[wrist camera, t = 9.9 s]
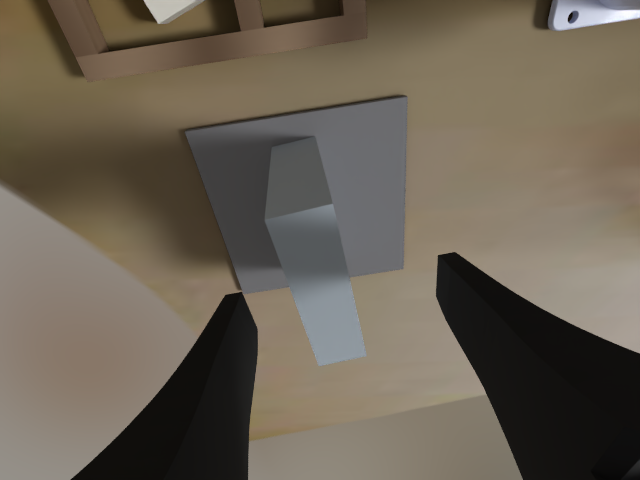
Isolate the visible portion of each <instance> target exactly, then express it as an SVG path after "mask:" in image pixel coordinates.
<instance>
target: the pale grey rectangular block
mask: <svg viewBox="0 0 640 480" xmlns="http://www.w3.org/2000/svg"><path fill="white" fill-rule="evenodd" d="M265 223H266V225H267V228H268V231H269V234H270V236H271V239H272V242H273V244H274V247H275V250H276V252H277V255H278V258H279V260H280V263H281V266H282V268H283V271H284V274H285V276H286V279H287V282H288V285H289V287H290V290H291V293H292V295H293V298H294V301H295V303H296V306H297V309H298V311H299V314H300V317H301V319H302V322H303V325H304V327H305V330H306V333H307V336H308V338H309V341H310V344H311V346H312V349H313V352H314V354H315V357H316V360H317V362H318V365H319V366H322V365H327V364H331V363H336V362H341V361H345V360H350V359H355V358H359V357H364V356H367V355H366V350H365V346H364V341H363V337H362V332H361V328H360V323H359V319H358V314H357V310H356V305H355V301H354V296H353V292H352V287H351V283H350V278H349V274H348V269H347V265H346V260H345V256H344V251H343V247H342V242H341V238H340V233H339V229H338V224H337V220H336V215H335V211H334V206H333V202H332V198H331V194H330V191H329V187H328V183H327V179H326V175H325V171H324V168H323V164H322V160H321V156H320V152H319V149H318V145H317V141H316V137H315V136H314V137H310V138H306V139H302V140H298V141H294V142H290V143H286V144H282V145H278V146H274V147H272V150H271V160H270V170H269V180H268V190H267V200H266V210H265Z"/></svg>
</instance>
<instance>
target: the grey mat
mask: <svg viewBox="0 0 640 480" xmlns="http://www.w3.org/2000/svg"><path fill="white" fill-rule="evenodd" d="M185 134H186V137H187V140H188V142H189V145H190V148H191V151H192V153H193V156H194V159H195V162H196V164H197V167H198V170H199V173H200V176H201V178H202V181H203V184H204V187H205V189H206V192H207V195H208V198H209V200H210V203H211V206H212V209H213V211H214V214H215V217H216V220H217V222H218V225H219V228H220V231H221V233H222V236H223V239H224V242H225V244H226V247H227V250H228V253H229V255H230V258H231V261H232V264H233V267H234V269H235V272H236V275H237V278H238V280H239V283H240V286H241V289H242V291H243V294H248V293H254V292H261V291H267V290H273V289H280V288H286V287H289V285H288V282H287V279H286V276H285V274H284V271H283V268H282V266H281V263H280V260H279V258H278V255H277V252H276V250H275V247H274V244H273V242H272V239H271V236H270V234H269V231H268V228H267V225H266V223H265V210H266V200H267V190H268V180H269V170H270V160H271V150H272V147H274V146H278V145H282V144H286V143H290V142H294V141H298V140H302V139H306V138H310V137H314V136H315V137H316V141H317V145H318V149H319V152H320V156H321V160H322V164H323V168H324V171H325V175H326V179H327V183H328V187H329V191H330V194H331V198H332V202H333V206H334V211H335V215H336V220H337V224H338V229H339V233H340V238H341V242H342V247H343V251H344V256H345V260H346V265H347V269H348V274H349V277H355V276H362V275H368V274H374V273H381V272H387V271H393V270H400V269H403V265H404V223H405V181H406V138H407V96H405V95H404V96H398V97H392V98H385V99H379V100H373V101H366V102H360V103H353V104H347V105H341V106H334V107H328V108H322V109H315V110H309V111H303V112H296V113H290V114H283V115H277V116H271V117H264V118H258V119H252V120H245V121H239V122H233V123H226V124H220V125H214V126H207V127H201V128H194V129H188V130H186V131H185Z"/></svg>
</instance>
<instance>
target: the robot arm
mask: <svg viewBox="0 0 640 480" xmlns="http://www.w3.org/2000/svg"><path fill="white" fill-rule="evenodd" d="M571 12H572V13H573V17H572V19H571V20H570V21H569V22H568V16H569V14H570V13H571ZM638 18H640V0H552V5H551V9H550V14H549V18H548V27H549V29H551V30H554V31H561V30H568V29H574V28H580V27H587V26H593V25H600V24H606V23H612V22H619V21H625V20H631V19H638ZM436 297H437V300H438V302H439V305H440V307H441V310H442V312H443V314H444V317H445V319H446V321H447V323H448V325H449V327H450V328H451V330H452V332H453V334H454V335H455V337H456V339H457V341H458V342H459V344H460V346H461V348H462V349H463V351H464V353H465V355H466V356H467V358H468V360H469V362H470V363H471V365H472V367H473V369H474V370H475V372H476V374H477V376H478V378H479V379H480V381H481V383H482V385H483V387H484V389H485V391H486V394H487V396H488V398H489V400H490V402H491V404H492V407H493V409H494V411H495V414H496V416H497V418H498V420H499V423H500V425H501V427H502V430H503V432H504V434H505V437H506V439H507V441H508V444H509V446H510V449H511V451H512V453H513V456H514V458H515V461H516V463H517V466H518V468H519V470H520V473H521V476H522V478H523V480H640V354H639V353H637V352H634V351H632V350H629V349H627V348H624V347H622V346H619V345H617V344H614V343H612V342H610V341H607V340H605V339H603V338H601V337H598V336H596V335H594V334H592V333H589V332H587V331H585V330H583V329H581V328H578V327H576V326H574V325H572V324H570V323H568V322H566V321H564V320H562V319H560V318H558V317H556V316H555V315H553V314H551V313H549V312H547V311H545V310H543V309H541V308H540V307H538V306H536V305H534V304H533V303H531V302H529V301H528V300H526V299H524V298H522V297H521V296H519V295H517V294H516V293H514V292H513V291H511V290H509V289H508V288H506V287H505V286H503V285H502V284H500V283H499V282H497V281H496V280H494V279H493V278H491V277H490V276H488V275H487V274H485V273H484V272H483V271H481V270H480V269H478V268H477V267H475V266H474V265H473V264H471V263H470V262H468V261H467V260H466V259H464V258H463V257H461V256H460V255H459V254H457V253H456V252H453V253H447V254H442V255H438V266H437V286H436ZM257 355H258V331H257V326H256V324H255V322H254V319H253V317H252V315H251V312H250V310H249V308H248V305H247V303H246V301H245V298H244V296H243V294H242V292H239V293H234V294H228V295H225V297H224V298H223V300H222V301H221V303H220V304H219V306H218V308H217V309H216V311H215V313H214V314H213V316H212V317H211V319H210V321H209V322H208V324H207V326H206V327H205V329H204V330H203V332H202V333H201V335H200V336H199V338H198V339H197V341H196V343H195V344H194V346H193V347H192V349H191V350H190V351H189V353H188V354H187V356H186V357H185V358H184V360H183V361H182V363H181V364H180V366H179V367H178V368H177V370H176V371H175V372H174V373H173V375H172V376H171V377H170V379H169V380H168V381H167V382H166V384H165V385H164V386H163V388H162V389H161V390H160V391H159V392H158V394H157V395H156V396H155V397H154V398H153V399H152V400H151V402H150V403H149V404H148V405H147V406H146V407H145V408H144V409H143V410H142V411H141V412H140V413H139V415H138V416H137V417H136V418H135V419H134V420H133V421H132V422H131V423H130V424H129V425H128V426H127V427H126V428H125V429H124V431H122V432H121V434H120V435H119V436H118V437H116V439H114V440H113V441H112V442H111V443H110V444H109V445H108V446H107V447H106V448H105V449H104V450H103V451H102V452H101V453H100V454H99V455H98V456H97V457H95V458H94V459H93V460H92V461H91V462H90V463H89V464H88V465H87V466H86V467H85V468H83V469H82V470H81V471H80V472H79V473H78V474H77V475H76V476H74V477H73V478H72V479H71V480H248V447H249V424H250V413H251V405H252V397H253V389H254V381H255V373H256V364H257Z"/></svg>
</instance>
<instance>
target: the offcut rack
mask: <svg viewBox="0 0 640 480" xmlns="http://www.w3.org/2000/svg"><path fill="white" fill-rule="evenodd" d="M48 2H49V4H50V6H51V8H52V10H53V13H54V15H55V17H56V19H57V21H58V23H59V25H60V27H61V29H62V31H63V33H64V35H65V37H66V39H67V41H68V43H69V45H70V47H71V49H72V51H73V53H74V55H75V57H76V60H77V62H78V64H79V66H80V68H81V70H82V72H83V74H84V76H85V78H86V80H87V82H92V81H98V80H104V79H111V78H117V77H123V76H130V75H136V74H143V73H149V72H155V71H162V70H168V69H174V68H181V67H187V66H194V65H200V64H206V63H213V62H219V61H225V60H232V59H238V58H245V57H251V56H257V55H264V54H270V53H276V52H283V51H289V50H296V49H302V48H308V47H315V46H321V45H327V44H334V43H340V42H347V41H353V40H359V39H366V38H367V18H366V0H339V8H340V16H335V17H328V18H322V19H315V20H309V21H303V22H296V23H290V24H284V25H277V26H271V27H265V26H264V20H263V15H262V10H261V4H260V0H234V2H235V6H236V11H237V15H238V20H239V24H240V29H241V31H239V32H232V33H226V34H220V35H213V36H207V37H201V38H194V39H188V40H181V41H175V42H169V43H162V44H156V45H149V46H143V47H137V48H130V49H124V50H118V51H111V52H110V51H109V48H108V46H107V44H106V41H105V39H104V37H103V35H102V32H101V30H100V28H99V25H98V23H97V21H96V18H95V16H94V14H93V11H92V9H91V7H90V4H89V2H88V0H48Z"/></svg>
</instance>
